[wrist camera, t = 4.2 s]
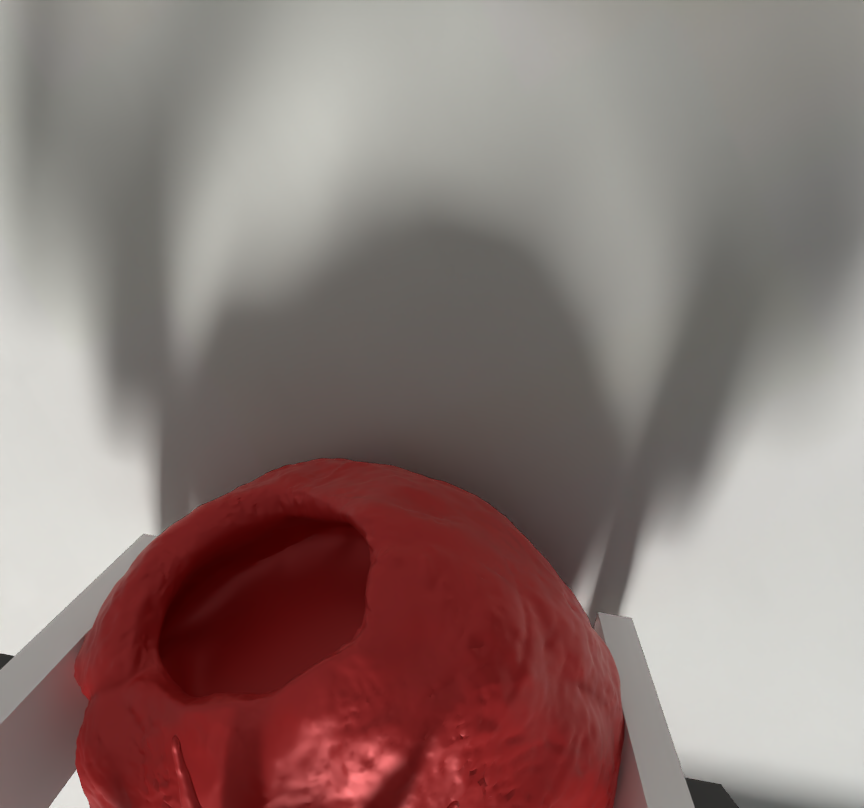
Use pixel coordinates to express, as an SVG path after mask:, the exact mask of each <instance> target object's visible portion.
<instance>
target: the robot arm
mask: <svg viewBox="0 0 864 808" xmlns="http://www.w3.org/2000/svg"><path fill="white" fill-rule="evenodd" d="M156 537H158V536H154V535H148V534H143V535H141V536H140V537H139V538H138V539H137V540H136V541H135V542H134V543H133V544H132V545H131V546H130V547H129V548H128V549H127V550H126V551H125V552H124V553H123V554H122V555H120V556H119V557H118V558H117V559H116V560H115V561H114V562H113V563H112V564H111V565H110V566H109V567H108V568H107V569H106V570H105V571H104V572H103V573H102V574H100V575H99V576H98V577H97V578H96V579H95V580H94V581H93V582H92V583H91V584H90V585H89V586H88V587H87V588H86V589H85V590H84V591H83V592H82V593H80V594H79V595H78V596H77V597H76V598H75V599H74V600H73V601H72V602H71V603H70V604H69V605H68V606H67V607H66V608H65V609H64V610H63V611H62V612H61V613H59V614H58V615H57V616H56V617H55V618H54V619H53V620H52V621H51V622H50V623H49V624H48V625H47V626H46V627H45V628H44V629H43V630H42V631H41V632H39V633H38V634H37V635H36V636H35V637H34V638H33V639H32V640H31V641H30V642H29V643H28V644H27V645H26V646H25V647H24V648H23V649H22V650H21V651H20V652H18V653H17V654H16V655H15V656H11V655H6V654H0V808H49V806H50V805H51V803H52V802H53V801H54V799H55V798H56V797H57V795H58V794H59V792H60V791H61V790H62V788H63V787H64V786H65V784H66V783H67V782H68V780H69V779H70V777H71V776H72V775H73V773H74V772H75V771H76V769H77V768H76V765H75V758H76V754H75V753H76V749H77V745H76V741H77V737H78V735H79V730H80V727H81V725H82V724H83V719H84V714H85V710H86V708H87V706H88V702H89V700H88V699H87V697H86V696H85V695H83V693H82V691H81V687H80V686H79V685H78V683H77V681H76V679H75V677H74V672H75V669H74V665H75V659H76V657H77V655H78V653H79V651H80V649H81V646H82V644H83V642H84V639H85V637H86V635H87V633H88V632H89V631H90V629H91V628H92V627H93V624H94V622H95V619H96V617H97V615H98V612H99V610H100V608H101V606H102V604H103V603H104V601H105V600H106V598H107V596H108V595H109V593H110V592H111V590H112V589H113V587H114V585H115V584H116V583H117V582H118V581H119V580H120V579H121V578H122V577H123V576H124V575H125V573H126V572H127V571H128V569H129V567H130V566H131V564H132V563H133V561H134V560H135V559H136V557H137V556H138V555H139V554H140V553H141V551H142V550H143V549H145V548H146V547H147V546H148V544H149V543H151V542H152V541H153V540H154V539H155V538H156ZM594 630H595V631H596V633H597V634H598V635H599V636H600V637H601V638H602V640H603V641H604V642H605V644H606V645H607V647H608V648H609V650H610V652H611V654H612V657H613V659H614V661H615V664H616V667H617V670H618V673H619V677H620V685H621V686H620V689H621V703H622V710H623V717H624V723H625V726H624V727H625V729H624V742H623V746H622V753H621V763H620V767H619V775H618V782H617V789H616V794H615V800H614V805H613V808H739V807H738V806H737V805H736V803H735V802H734V801H733V800H732V798H731V797H730V796H729V794H728V793H727V792H726V791H725V789H724V788H723V787H722V785H721V784H716V783H710V782H705V781H700V780H694V779H689V778H685V777H684V774H683V771H682V768H681V765H680V762H679V759H678V756H677V753H676V750H675V747H674V744H673V741H672V738H671V735H670V732H669V729H668V726H667V723H666V720H665V716H664V713H663V710H662V707H661V704H660V701H659V698H658V695H657V692H656V689H655V686H654V683H653V680H652V677H651V674H650V671H649V668H648V665H647V662H646V659H645V656H644V653H643V650H642V647H641V644H640V641H639V638H638V635H637V632H636V629H635V626H634V623H633V620H632V618H629V617H623V616H617V615H612V614H606V613H600V612H598V614H597V618H596V621H595V625H594Z"/></svg>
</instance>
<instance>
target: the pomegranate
mask: <svg viewBox="0 0 864 808" xmlns="http://www.w3.org/2000/svg"><path fill="white" fill-rule="evenodd" d="M74 669H75V672H74V677H75V679H76V681H77V683H78V685H79V686H80V687H81V691H82V693H83V695H85V696H86V697H87V699H88V700H89V702H88V706H87V708H86V710H85V714H84V719H83V724H82V725H81V727H80V730H79V735H78V737H77V741H76V745H77V749H76V753H75V754H76V758H75V765H76V768H77V773H78V776H79V778H80V782H81V786H82V788H83V791H84V794H85V795H86V797H87V799H88V801H89V805H90V808H613V805H614V800H615V794H616V789H617V782H618V775H619V767H620V763H621V753H622V746H623V742H624V729H625V727H624V726H625V723H624V717H623V710H622V703H621V689H620V686H621V685H620V677H619V673H618V670H617V667H616V664H615V661H614V659H613V657H612V654H611V652H610V650H609V648H608V647H607V645H606V644H605V642H604V641H603V640H602V638H601V637H600V636H599V635H598V634H597V633H596V631H595V630H594V629H593V628H592V626H591V624H590V621H589V618H588V616H587V615H586V613H585V612H584V610H583V608H582V606H581V605H580V603H579V602H578V600H577V599H576V597H575V595H574V594H573V592H572V591H571V590H570V589H569V587H568V586H567V585H566V584H565V583H564V582H563V581H562V580H561V578H560V577H559V576H558V574H557V573H556V571H555V570H554V568H553V567H552V566H551V564H550V563H549V562H548V561H547V560H546V559H545V558H544V556H543V555H542V554H541V553H540V552H539V551H538V550H537V549H536V548H535V547H534V546H533V545H532V543H531V542H530V541H529V540H528V539H527V538H526V537H525V536H524V535H523V534H522V533H521V532H520V531H519V530H518V529H517V528H516V527H515V526H514V525H513V524H512V523H511V522H510V520H509V519H508V518H506V517H505V516H504V515H503V514H501V513H500V512H499V511H497V510H496V509H495V508H494V507H493V506H491V505H490V504H489V503H487V502H486V501H484V500H483V499H481V498H480V497H478V496H476V495H474V494H472V493H470V492H467V491H465V490H463V489H460V488H458V487H456V486H454V485H452V484H449V483H447V482H444V481H441V480H435V479H431V478H428V477H426V476H424V475H421V474H417V473H413V472H411V471H409V470H405V469H403V468H399V467H396V466H393V465H385V464H375V463H367V462H356V461H352V460H349V459H343V458H336V459H329V458H321V459H314V460H310V461H307V462H302V463H297V464H290V465H285V466H282V467H281V468H278V469H275V470H272V471H270V472H268V473H266V474H264V475H263V476H261V477H259V478H257V479H255V480H254V481H252V482H250V483H248V484H245V485H242V486H239V487H237V488H236V489H235V490H233V491H232V492H230V493H227V494H225V495H223V496H221V497H219V498H217V499H215V500H212V501H210V502H207V503H205V504H203V505H201V506H199V507H197V508H196V509H194V510H193V511H192V512H191V513H189V514H188V515H187V516H185V517H184V518H182V519H180V520H179V521H177V522H176V523H174V524H172V525H171V526H170V527H168V528H167V529H166V530H165V531H164V532H163V533H162V534H160V535H159V536H158V537H156V538H155V539H154V540H153V541H152V542H151V543H149V544H148V546H147V547H146V548H145V549H143V550H142V551H141V553H140V554H139V555H138V556H137V557H136V559H135V560H134V561H133V563H132V564H131V566H130V567H129V569H128V571H127V572H126V573H125V575H124V576H123V577H122V578H121V579H120V580H119V581H118V582H117V583H116V584H115V585H114V587H113V589H112V590H111V592H110V593H109V595H108V596H107V598H106V600H105V601H104V603H103V604H102V606H101V608H100V610H99V612H98V615H97V617H96V619H95V622H94V624H93V627H92V628H91V629H90V631H89V632H88V633H87V635H86V637H85V639H84V642H83V644H82V646H81V649H80V651H79V653H78V655H77V657H76V659H75V665H74Z"/></svg>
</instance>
